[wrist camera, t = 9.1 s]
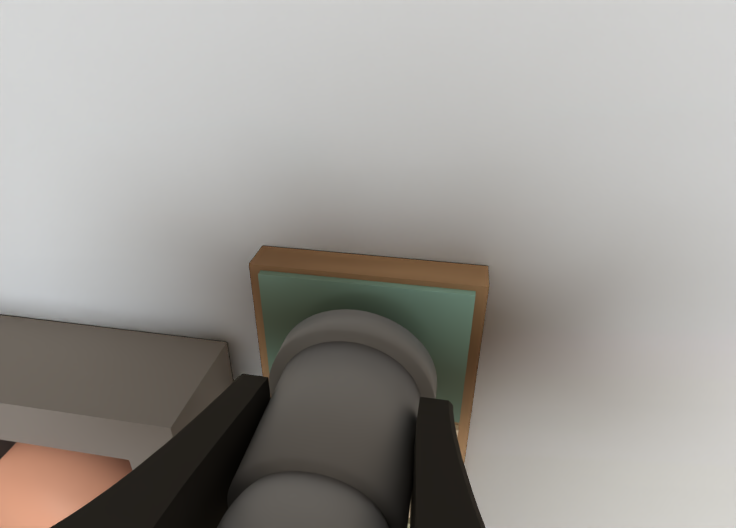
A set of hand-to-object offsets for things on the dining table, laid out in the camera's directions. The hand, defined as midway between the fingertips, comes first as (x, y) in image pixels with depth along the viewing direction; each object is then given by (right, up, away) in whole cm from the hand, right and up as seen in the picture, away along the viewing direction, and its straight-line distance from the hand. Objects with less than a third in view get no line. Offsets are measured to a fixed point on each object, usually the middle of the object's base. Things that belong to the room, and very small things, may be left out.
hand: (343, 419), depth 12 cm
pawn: (0, +1, +1) cm, 2 cm away
